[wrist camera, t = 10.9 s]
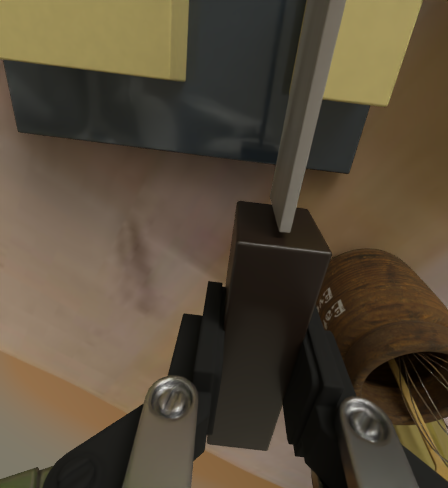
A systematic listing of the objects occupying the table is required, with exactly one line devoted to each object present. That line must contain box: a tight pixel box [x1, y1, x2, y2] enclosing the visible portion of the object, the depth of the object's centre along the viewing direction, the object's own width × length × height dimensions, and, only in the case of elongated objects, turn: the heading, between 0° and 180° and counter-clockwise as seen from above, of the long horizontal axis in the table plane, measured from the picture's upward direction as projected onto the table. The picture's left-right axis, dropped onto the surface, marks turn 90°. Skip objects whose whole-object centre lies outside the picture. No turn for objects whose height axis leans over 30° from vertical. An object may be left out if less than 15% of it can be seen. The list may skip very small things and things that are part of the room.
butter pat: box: [289, 0, 423, 107], centre depth 10 cm, size 3×4×3 cm
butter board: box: [3, 0, 370, 174], centre depth 12 cm, size 16×10×1 cm, turn 84°
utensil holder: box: [316, 249, 448, 481], centre depth 13 cm, size 6×6×12 cm
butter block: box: [0, 0, 189, 82], centre depth 10 cm, size 6×4×3 cm, turn 84°
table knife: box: [207, 0, 346, 451], centre depth 8 cm, size 2×19×3 cm, turn 174°
